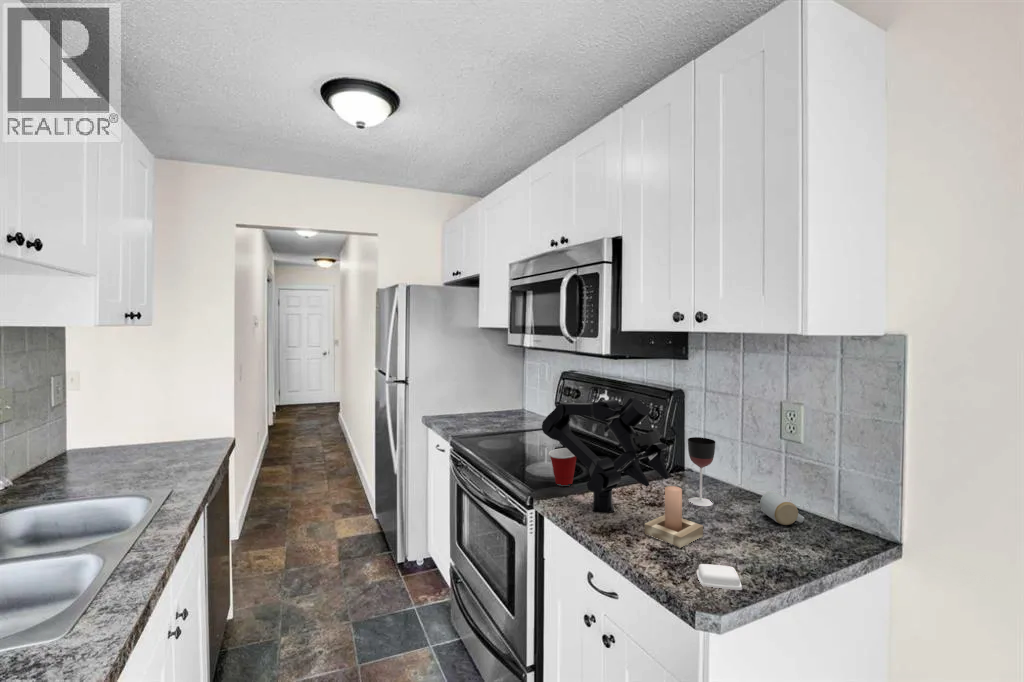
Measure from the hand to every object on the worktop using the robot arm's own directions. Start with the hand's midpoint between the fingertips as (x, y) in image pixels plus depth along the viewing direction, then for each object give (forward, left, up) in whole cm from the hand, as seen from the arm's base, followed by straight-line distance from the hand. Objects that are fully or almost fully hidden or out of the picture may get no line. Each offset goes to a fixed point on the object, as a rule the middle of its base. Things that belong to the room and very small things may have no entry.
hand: (658, 482), depth 136 cm
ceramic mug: (-9, +38, -14) cm, 41 cm away
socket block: (+4, +4, -13) cm, 14 cm away
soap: (+26, +8, -14) cm, 31 cm away
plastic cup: (-35, -26, -14) cm, 46 cm away
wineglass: (-22, +18, -14) cm, 32 cm away
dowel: (+4, +4, -13) cm, 14 cm away
